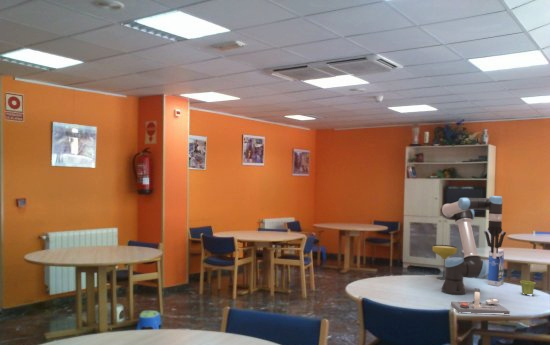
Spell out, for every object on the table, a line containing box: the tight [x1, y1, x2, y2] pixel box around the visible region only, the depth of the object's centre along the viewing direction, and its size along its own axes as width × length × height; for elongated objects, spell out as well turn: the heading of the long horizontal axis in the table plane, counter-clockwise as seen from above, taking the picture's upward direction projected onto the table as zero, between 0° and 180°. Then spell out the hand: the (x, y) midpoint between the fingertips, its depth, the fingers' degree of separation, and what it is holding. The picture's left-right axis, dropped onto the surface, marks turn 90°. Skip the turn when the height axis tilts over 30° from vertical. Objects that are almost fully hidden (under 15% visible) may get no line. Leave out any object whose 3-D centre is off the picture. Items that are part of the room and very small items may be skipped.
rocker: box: [485, 298, 499, 304], centre depth 284 cm, size 6×4×2 cm, turn 86°
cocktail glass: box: [432, 244, 458, 281], centre depth 367 cm, size 18×18×25 cm
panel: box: [450, 300, 511, 314], centre depth 280 cm, size 28×16×5 cm, turn 86°
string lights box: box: [487, 248, 505, 287], centre depth 353 cm, size 13×8×26 cm, turn 139°
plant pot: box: [519, 280, 536, 295], centre depth 322 cm, size 9×9×9 cm
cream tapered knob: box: [473, 291, 481, 308], centre depth 275 cm, size 4×3×9 cm
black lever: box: [471, 288, 482, 304], centre depth 284 cm, size 4×3×9 cm
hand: (494, 258), depth 297 cm, fingers closed
